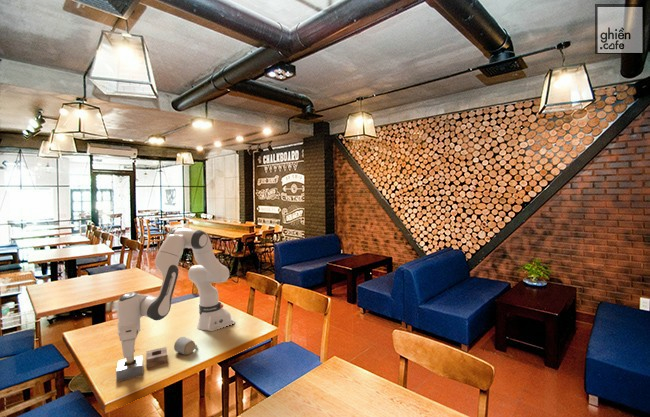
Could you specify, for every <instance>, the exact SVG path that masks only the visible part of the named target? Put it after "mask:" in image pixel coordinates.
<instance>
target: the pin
mask: <svg viewBox="0 0 650 417" xmlns="http://www.w3.org/2000/svg"><path fill="white" fill-rule="evenodd" d="M134 353H135V348H134ZM134 357H135V354H134V355H133V356H132V360H129V361H128V360H127V358H125V359H126V366H129V365H133V364H134Z"/></svg>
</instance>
